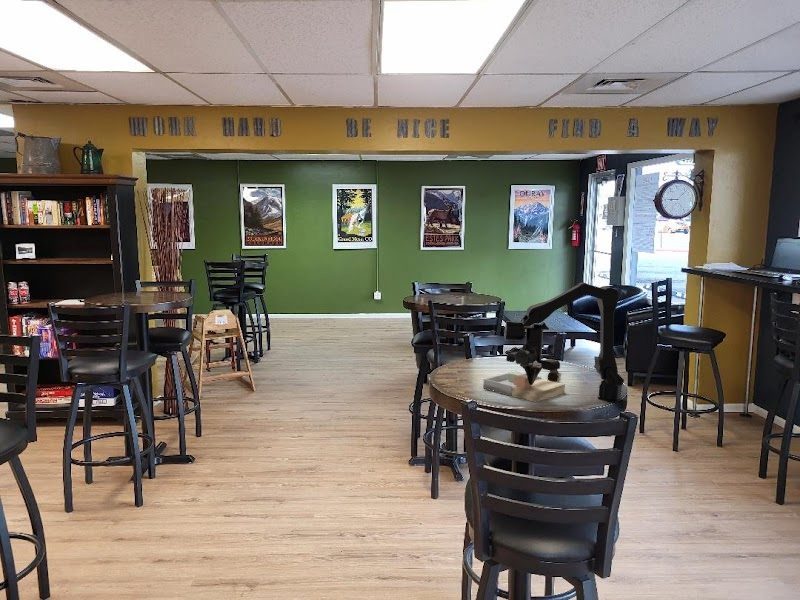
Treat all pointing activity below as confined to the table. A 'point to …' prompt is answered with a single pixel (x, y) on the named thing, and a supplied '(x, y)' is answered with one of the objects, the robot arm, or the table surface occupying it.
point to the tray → (501, 383)
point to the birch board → (539, 390)
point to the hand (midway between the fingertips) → (531, 384)
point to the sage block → (513, 375)
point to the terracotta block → (521, 381)
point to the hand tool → (553, 375)
